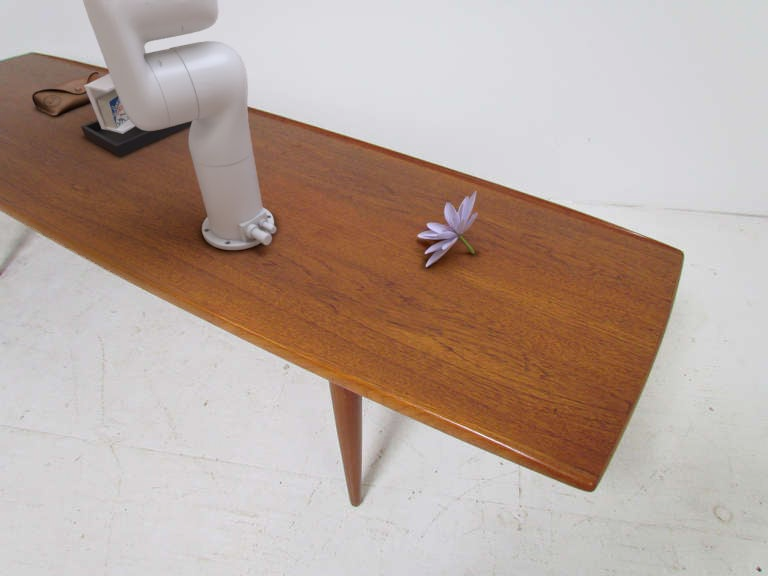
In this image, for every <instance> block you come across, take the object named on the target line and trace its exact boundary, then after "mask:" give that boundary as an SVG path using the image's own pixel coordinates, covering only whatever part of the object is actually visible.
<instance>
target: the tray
mask: <svg viewBox="0 0 768 576" xmlns="http://www.w3.org/2000/svg"><path fill="white" fill-rule="evenodd" d="M191 124H192V121H190V122H186V123H183V124H179V125H175V126H172V127H168V128H164V129H160V130H155V131H145V130H141V129H139V128H138V127H136V126H135V127H133V128H131V129H130V130H128V131H126V132H125V133H123V134H121V133H118V132H114V131H110V130H104V129H101V126H100V124H99V121H98V119H96V120H94V121H90V122H89V123H86V124H82V125H81V126H80V128H81V130H82V132H83V135H84V137H85V138H86V139H88V140H90V141H91V142H93V143H95V144H97V145H98V146H100V147H101V148H103V149H105V150H107V151H109V152H111V153H113V155H116V156H118V157H119V158H122V157H124V156H126V155H128V154H130V153H133V152H135V151H137V150H139V149H142V148H144V147H146V146H149V145H152V144H154V143H156V142H158V141H160V140H162V139H165V138H167V137H169V136H171V135H174V134H176V133H179V132H180V131H183V130H185V129H188V128H190V127H191Z"/></svg>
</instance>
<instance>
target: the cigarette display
mask: <svg viewBox="0 0 768 576" xmlns="http://www.w3.org/2000/svg"><path fill="white" fill-rule="evenodd" d="M84 87H85V89H86V92H87V94H88V96H89V99H90V101H91V103H90V104H91V106H92V109H93V111H94V113H95V116H96V118H97V119H96V120H98V121H99V124H100V126H101V129H104V130H110V131H114V132H118V133H121V134H123V133H125V132H126V131H128V130H130V129H131V128H133V127H135V125H134V124H133V123H132V122H131V121H130V119H129V118H128V116H127V114H126V113H125V111H124V109H123V107H122V104H121V102H120V100H119V97H118V95H117V92H116V90H115V87H114V84H113V81H112V79H111V76H110V73H109V72H108V74H105V75H103V76H101V78H99V79H97V80H95V81H93V82H91V83H89V84H87V85H84Z"/></svg>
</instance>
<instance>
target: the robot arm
mask: <svg viewBox="0 0 768 576" xmlns="http://www.w3.org/2000/svg"><path fill="white" fill-rule="evenodd" d="M82 2H83V6H84V8H85V11H86V15H87V17H88V20H89V23H90V26H91V28H92V31H93V33H94V34H93V35H94V36H95V39H96V42H97V44H98V48H99V50H100V52H101V54H102V57H103V60H104V63H105V65H106V69H107V71H108V74H109V73H110V76H111V79H112V81H113V84H114V87H115V90H116V92H117V95H118V97H119V100H120V102H121V104H122V107H123V109H124V111H125V113H126V114H127V116H128V118H129V119H130V121H131V122H132V123H133V124H134V125H135V126H136V127H138V128H139V129H141V130H145V131H155V130H160V129H164V128H168V127H172V126H175V125H179V124H183V123H186V122H190V121H192V124H191V126H190V127H189V131H188V138H187V141H188V142H187V143H188V144H187V145H188V150H189V153H190V157H191V161H192V165H193V168H194V172H195V176H196V179H197V183H198V187H199V190H200V194H201V197H202V201H203V205H204V209H205V212H206V218H205V219H204V220H203V222H202V224H201V232H202V235H203V238H204V240H205V241H206V242H207V243H208V244H209V245H210V246H212V247H214V248H217V249H221V250H224V251H225V250H227V251H240V250H241V251H242V250H246V249H250V248H253V247H256V246H258V245H260V244H262V245H264V246H268V245H270V244H271V243H272V240H273V236H272V234H275V233H276V232H277V230H278V229H277V226H275V219H274V216H273V214H272V213H271V211H270V210H268V209H267V208H265V207H264V206H263V200H262V195H261V189H260V183H259V177H258V173H257V166H256V161H255V155H254V149H253V143H252V136H251V130H250V123H249V109H248V105H249V104H248V101H249V99H248V95H249V86H248V85H249V84H248V83H249V82H248V81H249V80H248V74H247V69H246V67H245V66H246V65H245V63H244V61H243V59H242V57H241V55H240V54H239V52H238V51H237V50H235V48H234V47H232V46H230V44H229V45H228V44H227V43H224V42H221V41H217V40H216V41H215V40H214V41H212V40H209V41H208V40H206V41H198V42H193V43H188V44H183V45H177V46H172V47H169V48H165V49H160V50H155V51H151V52H146V48H145V45H146V44H147V43H149V42H153V41H159V40H163V39H169V38H174V37H175V38H176V37H180V36H184V35H190V34H194V33H198V32H201V31H204V30H207V29H209V28H211V27H212V26H214V25H215V24H216V22H217V20H218V19H219V1H218V0H82Z"/></svg>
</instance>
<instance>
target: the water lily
mask: <svg viewBox="0 0 768 576" xmlns="http://www.w3.org/2000/svg"><path fill="white" fill-rule="evenodd" d="M476 198H477V190H475V191H474V192H473V193H472V195H471V196H470V197H469V195H467V196H465V198H464V199H463V200H462V202H461V203H460V205H459V208H458V210H456V208H455V207H454V205H453V204H452V203H451V202H449V201H448V202H446V203H445V206H444V209H443V210H444V211H443V213H444V214H443V215H444V218H445V220H446V223H447V224H441V223H439V222H433V221H432V222H427V223H426V226H427V228H428V229H429V230H425V231H422V232H420V233H419V234H417V236H416V237H418V238H420V239H423V240H428V241H429V240H430V241H431V240H432V241H433V240H434V241H437V240H438V241H439V240H442V241H439V242H437V243H434V244H432V245H431V246H429V247H428V249H426V250H425V252H424V255H427V254H430V253H432V255H431V256H430V257H429V259H428V260H427V262H426V264H425V268H428V267H429V266H431V265H433V264H434V263H435V262H437V261H438V260H440V259H441V258H442V257H443V256H444V255H445V254H446V253H447V252H448V251H449V250H450V249H451V247H453V245H455V243H456V242H457V241H458V239H459V240H460V241H461V243H463V245H464V247H466V248H467V250H468V251H469V252H470V253H471V255H473V254H474V253H475V250H474V249H473V248H472V246H471V245H470V244H469V243H468V241H467V240H466V239H465V238H464V237H463V236H462V234H464V233H465V232H467V231H468V230H469V229H470V228H471V227H472V226H473V224H474V222H475V221H476V219H477V217H478V214H479V213H478V212H475V213H473V212H472V211H473V209H474V206H475V202H476ZM472 213H473V214H472ZM471 214H472V215H471ZM433 252H434V253H433Z"/></svg>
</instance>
